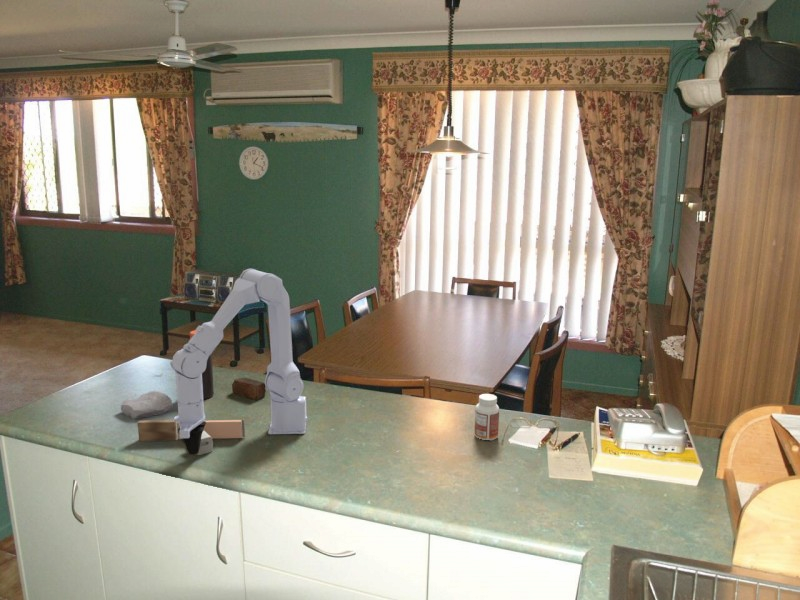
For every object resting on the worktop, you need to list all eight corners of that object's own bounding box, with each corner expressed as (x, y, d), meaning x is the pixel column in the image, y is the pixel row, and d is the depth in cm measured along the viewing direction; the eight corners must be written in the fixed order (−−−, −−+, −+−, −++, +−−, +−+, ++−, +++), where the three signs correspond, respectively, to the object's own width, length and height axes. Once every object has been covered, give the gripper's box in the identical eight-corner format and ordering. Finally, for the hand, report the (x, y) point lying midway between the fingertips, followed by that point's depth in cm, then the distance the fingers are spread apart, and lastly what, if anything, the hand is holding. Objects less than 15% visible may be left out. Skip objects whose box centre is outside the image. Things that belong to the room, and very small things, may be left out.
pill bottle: (495, 431, 167) (497, 392, 164) (499, 441, 161) (502, 401, 158) (472, 431, 166) (474, 392, 164) (476, 441, 160) (478, 401, 158)
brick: (266, 397, 187) (265, 382, 186) (256, 401, 184) (256, 386, 183) (241, 389, 193) (241, 375, 192) (231, 393, 190) (231, 378, 189)
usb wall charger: (197, 455, 150) (196, 440, 149) (186, 445, 155) (185, 430, 154) (213, 451, 152) (212, 436, 152) (202, 441, 158) (201, 426, 157)
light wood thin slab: (245, 436, 160) (244, 418, 159) (244, 437, 159) (243, 420, 158) (178, 437, 159) (177, 419, 158) (177, 439, 158) (176, 421, 157)
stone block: (177, 414, 178) (158, 399, 183) (177, 400, 176) (158, 385, 181) (137, 429, 169) (119, 413, 174) (137, 414, 167) (118, 398, 173)
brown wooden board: (176, 438, 159) (175, 420, 158) (175, 440, 158) (174, 422, 157) (140, 438, 158) (139, 420, 157) (139, 441, 157) (137, 422, 156)
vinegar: (209, 400, 184) (206, 335, 179) (186, 399, 184) (182, 334, 179) (216, 391, 190) (213, 329, 186) (194, 391, 190) (190, 328, 186)
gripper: (180, 388, 152) (184, 439, 155) (164, 412, 138) (168, 468, 141) (210, 388, 152) (213, 439, 155) (196, 412, 138) (199, 467, 141)
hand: (193, 453), depth 148 cm, fingers closed
